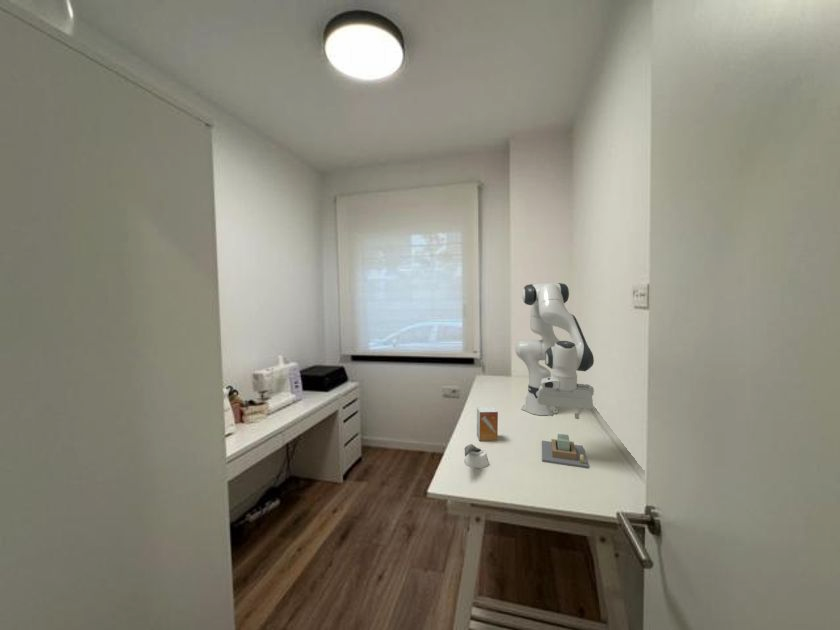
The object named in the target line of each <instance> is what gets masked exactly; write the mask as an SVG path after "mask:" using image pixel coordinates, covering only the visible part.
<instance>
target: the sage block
mask: <svg viewBox="0 0 840 630" xmlns="http://www.w3.org/2000/svg"><path fill="white" fill-rule="evenodd" d="M556 440H557V449H558V450H562V451H570V441H571V440H570V436H569V434H564V433H557V439H556Z"/></svg>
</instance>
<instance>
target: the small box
mask: <svg viewBox="0 0 840 630" xmlns="http://www.w3.org/2000/svg"><path fill="white" fill-rule="evenodd" d="M498 419H499V411H498V410H497V409H496V408H495V407H493V406H492V407H487V406H485V407H476V437H477V439H478V440H479V442H484V441H487V442H488V441H489V442H490V441H491V442H493V441H496V442H497V441H498V432H499V431H498V429H499V427H498V425H499V423H498V422H499V421H498Z"/></svg>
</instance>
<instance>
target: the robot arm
mask: <svg viewBox="0 0 840 630" xmlns="http://www.w3.org/2000/svg"><path fill="white" fill-rule="evenodd" d="M569 297H570V289H569V287H568V286H567V284H565V283H562V282H558V283H554V282H545V283H535V284H532V283H531V284H526V285H525V286H523V289H522V293H521V298H522V301H523V303H524V304H525V305H528V306H530V317H529V319H530V320H529V328H530V330H531V332H532V333H534V334H536V335H537V336H540V337H541V339H523V340H518V342H517V343H516V345H515V354H516V356H517V357H518V358H519V359H520V360H521V361H522V362H523V363H524V364H525V366H526V368H527V371H528V381H529V383H528V386H527V391H528V392H527V393H526V394H525V395H524V400H525V401H524V404H523V405H522V406H521V408H520V409H521V410H522V411H525V412H527V413H528V414H532V415H537V416H549V417H553V416H554V414H559V411H558V409H557V408H556V407H563V408H575V409H577V410H578V411H577V412H575V413H574V419H575V420H579V419H580V416H581V414H582V412H583V410H584V409H585V410H591V409H593V408H594V401H593V400H594V399H593V396H594V392H595V389H594V387H593V386H591V384H587V383H586V384H583V383H578V374H577V372H587V371H588V370H590V369H591V368H592V367H593V365H594V363H595V362H594V361H595V360H594V354H593V351H592V350H591V348H590V346H589V345H588V342H587V341H586V338H585V336H584V333H583V331H582V329H581V326H580V324H579V322H578V320H577V318H576V316H575V315H574V314H572V313H571V312H570V311H569V310H568V309H567V308H566V305H565V304H566V303H567V302H568V301H569ZM553 327H557V328H559V329H561V330H564V331H566V332H568V334H569V335H570V338H571V340H572V341H569V340H560V339H559V338H558V337H557V336H556V334H555V332H554V329H553ZM539 361H544V364H545V365H546V366H547V367H548V368H549V369H550V370H553V372H552V373H551V371H550V370H549V369H548V368H547V367H546V366H543V365H542V364H540V363H539Z"/></svg>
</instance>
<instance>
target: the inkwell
mask: <svg viewBox="0 0 840 630" xmlns="http://www.w3.org/2000/svg"><path fill="white" fill-rule="evenodd" d="M489 461H490V460H489V458H488V454H487V452H486V450H484V449H482V447H479V446H476V445H474V444H472V443H471V444H467V445H466V446H465V448H464V463H465V465H467V466H468V467H469V466H470V468H473V469H483V467H484V468H485V467H488V465H489Z"/></svg>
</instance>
